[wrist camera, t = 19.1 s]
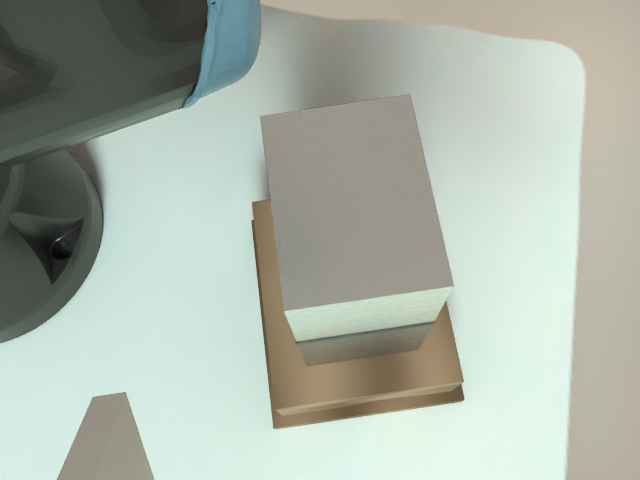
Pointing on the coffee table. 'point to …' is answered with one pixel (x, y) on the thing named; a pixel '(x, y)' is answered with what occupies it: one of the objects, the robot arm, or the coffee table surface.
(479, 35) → the coffee table surface
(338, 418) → the walnut stand
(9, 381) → the coffee table surface
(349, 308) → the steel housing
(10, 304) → the robot arm
